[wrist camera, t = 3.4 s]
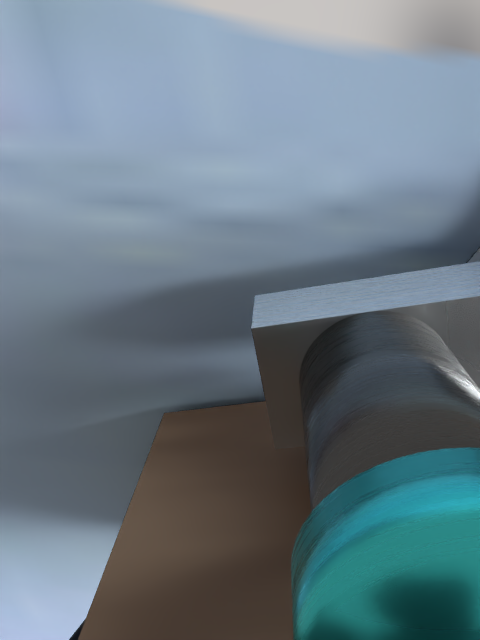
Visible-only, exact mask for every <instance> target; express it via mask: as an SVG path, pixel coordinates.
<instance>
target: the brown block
mask: <svg viewBox="0 0 480 640" xmlns="http://www.w3.org/2000/svg"><path fill="white" fill-rule="evenodd" d="M310 513H311V507H310V496H309V485H308V474H307V463H306V452H305V446H301V447H291V448H281V449H275V446H274V441H273V436H272V431H271V426H270V421H269V416H268V411H267V406H266V401H262V402H254V403H245V404H237V405H228V406H220V407H211V408H203V409H195V410H186V411H178V412H169V413H164V415H163V417H162V420H161V423H160V425H159V428H158V431H157V433H156V436H155V438H154V441H153V444H152V446H151V449H150V452H149V454H148V457H147V460H146V462H145V465H144V467H143V470H142V473H141V475H140V478H139V481H138V483H137V486H136V488H135V491H134V494H133V496H132V499H131V502H130V504H129V507H128V509H127V512H126V515H125V517H124V520H123V523H122V525H121V528H120V530H119V533H118V536H117V538H116V541H115V544H114V546H113V549H112V552H111V554H110V557H109V559H108V562H107V565H106V567H105V570H104V573H103V575H102V578H101V580H100V583H99V586H98V588H97V591H96V594H95V596H94V599H93V601H92V604H91V607H90V609H89V612H88V615H87V617H86V620H85V623H84V625H83V628H82V630H81V633H80V636H79V638H78V640H293V615H292V586H291V558H292V551H293V547H294V543H295V540H296V537H297V535H298V533H299V531H300V529H301V527H302V525H303V523H304V522H305V520H306V519H307V518H308V516H309V515H310Z"/></svg>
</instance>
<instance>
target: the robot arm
mask: <svg viewBox="0 0 480 640" xmlns="http://www.w3.org/2000/svg"><path fill="white" fill-rule="evenodd" d="M85 620H86V619H85ZM85 620H84V621H83V623H82V624H81V625H80V627H79V628H78V629H77V630H76V632H75V633H74V634H73V635H72V637H71V638H70V639H69V640H78V638H79V636H80V633H81V630H82V628H83V625H84V623H85Z"/></svg>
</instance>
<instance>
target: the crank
mask: <svg viewBox="0 0 480 640" xmlns="http://www.w3.org/2000/svg"><path fill="white" fill-rule="evenodd" d="M251 330H252V335H253V340H254V345H255V350H256V355H257V360H258V365H259V370H260V375H261V380H262V385H263V391H264V396H265V401H266V406H267V411H268V416H269V421H270V426H271V431H272V436H273V441H274V446H275V449H281V448H291V447H301V446H305V452H306V463H307V474H308V485H309V496H310V507H311V513H310V515H309V516H308V518H307V519H306V520H305V522H304V523H303V525H302V527H301V529H300V531H299V533H298V535H297V537H296V540H295V543H294V547H293V551H292V558H291V586H292V615H293V640H480V261H478V262H471V263H465V264H458V265H452V266H445V267H439V268H432V269H425V270H419V271H412V272H406V273H399V274H393V275H386V276H379V277H373V278H366V279H360V280H353V281H347V282H340V283H334V284H327V285H320V286H314V287H307V288H301V289H294V290H288V291H281V292H274V293H268V294H261V295H255V300H254V308H253V317H252V326H251Z"/></svg>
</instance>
